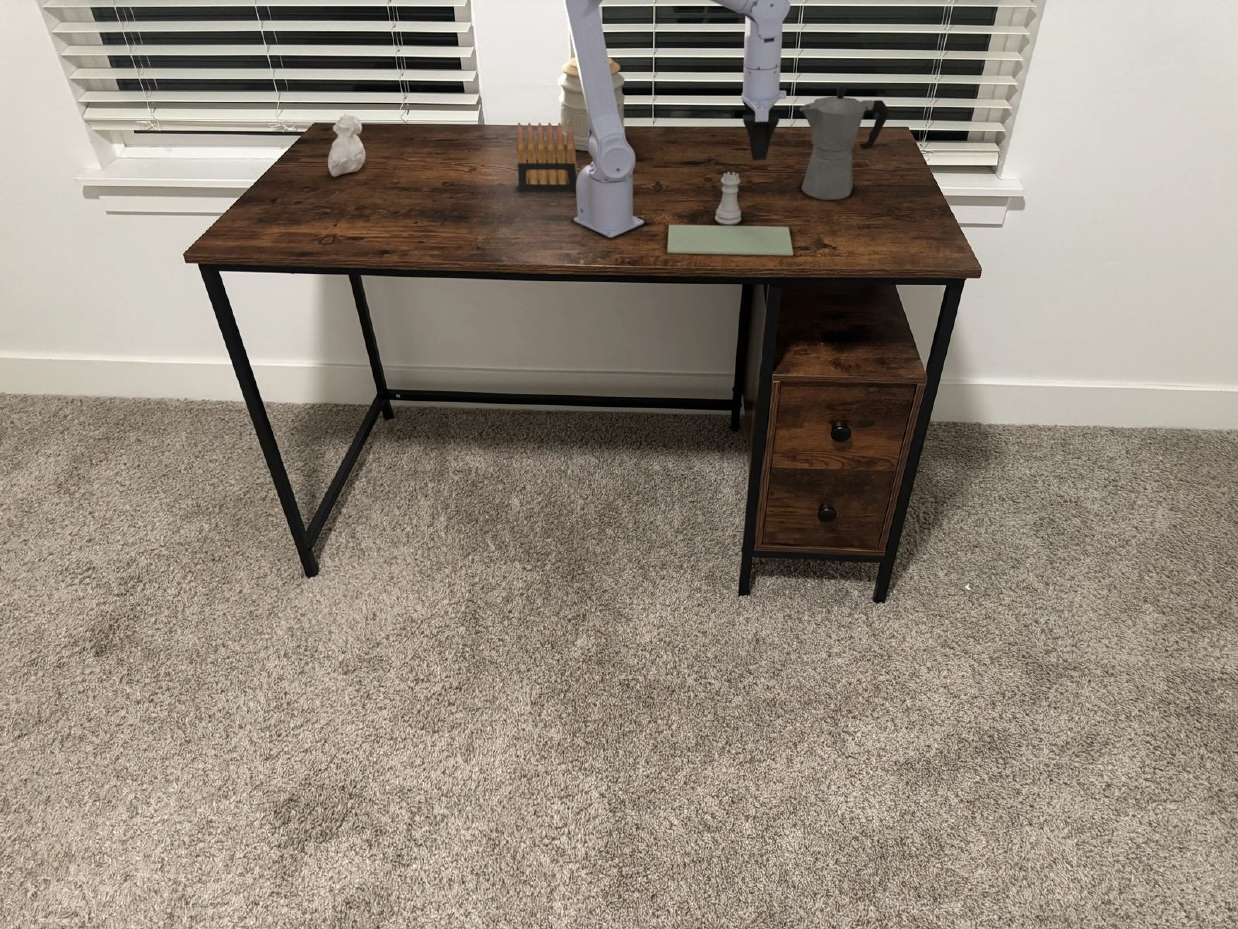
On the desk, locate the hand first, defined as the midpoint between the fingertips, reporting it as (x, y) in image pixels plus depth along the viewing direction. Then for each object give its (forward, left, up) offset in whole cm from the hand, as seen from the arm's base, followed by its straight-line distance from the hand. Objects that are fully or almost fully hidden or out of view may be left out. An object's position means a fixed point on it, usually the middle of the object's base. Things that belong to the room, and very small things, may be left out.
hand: (758, 149), depth 148 cm
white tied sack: (-66, -41, -11) cm, 78 cm away
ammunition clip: (-32, -20, -11) cm, 39 cm away
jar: (-44, +2, -11) cm, 45 cm away
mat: (+5, -12, -10) cm, 17 cm away
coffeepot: (+5, +16, -11) cm, 20 cm away
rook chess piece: (0, -7, -11) cm, 12 cm away
